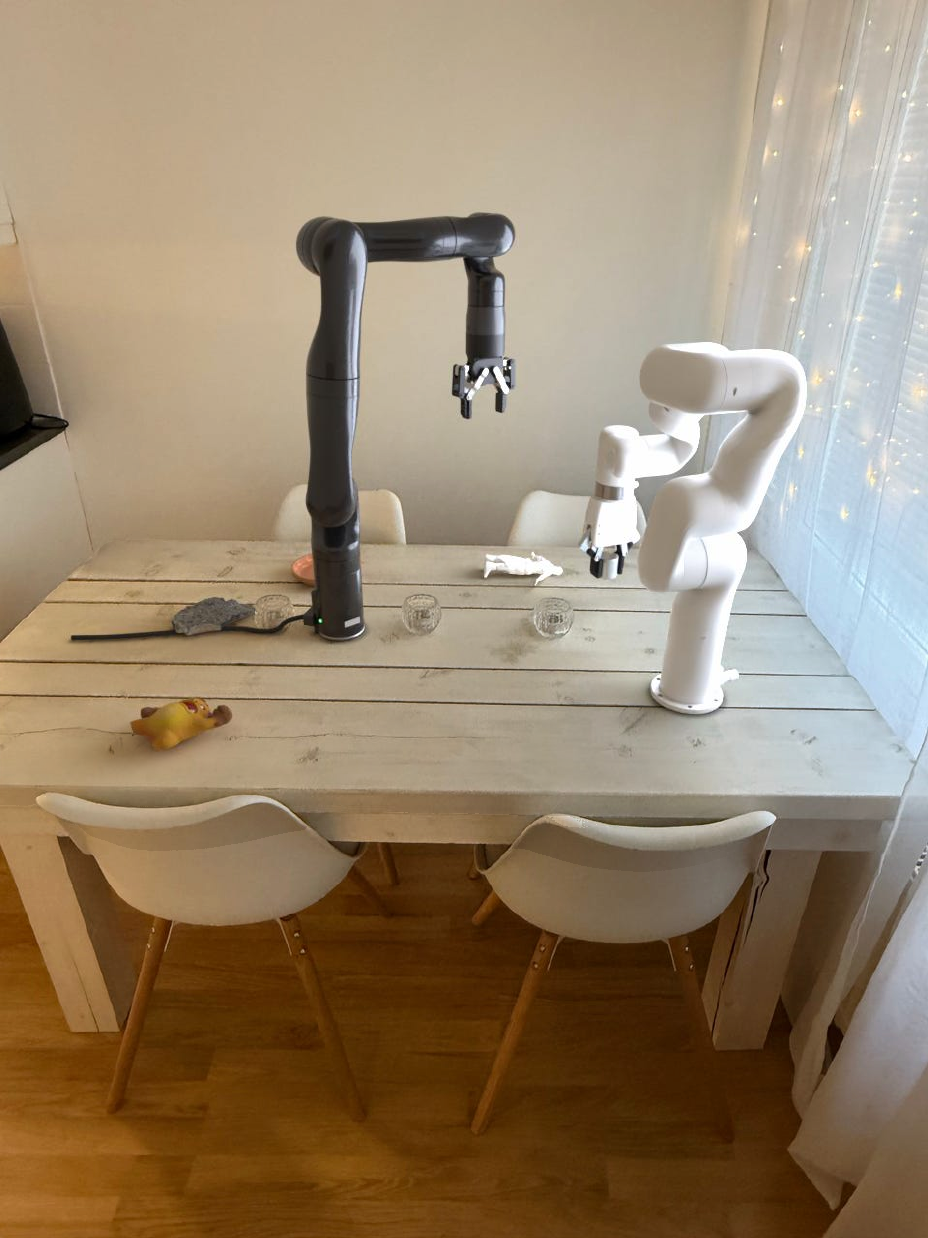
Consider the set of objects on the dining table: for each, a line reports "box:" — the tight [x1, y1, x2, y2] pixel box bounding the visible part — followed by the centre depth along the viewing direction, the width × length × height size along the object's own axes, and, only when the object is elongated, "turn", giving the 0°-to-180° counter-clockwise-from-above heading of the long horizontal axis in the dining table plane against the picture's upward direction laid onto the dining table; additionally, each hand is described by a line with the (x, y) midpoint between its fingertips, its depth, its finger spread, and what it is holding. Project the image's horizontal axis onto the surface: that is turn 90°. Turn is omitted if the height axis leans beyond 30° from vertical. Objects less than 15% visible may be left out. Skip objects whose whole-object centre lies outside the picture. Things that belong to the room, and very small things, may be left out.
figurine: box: [483, 551, 563, 586], centre depth 188 cm, size 17×5×18 cm
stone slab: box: [170, 596, 256, 637], centre depth 168 cm, size 12×17×3 cm
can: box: [599, 550, 619, 580], centre depth 169 cm, size 4×4×4 cm
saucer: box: [290, 552, 362, 588], centre depth 186 cm, size 16×16×3 cm
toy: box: [129, 697, 233, 751], centre depth 133 cm, size 11×6×15 cm
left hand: (483, 415), depth 162 cm, fingers open, 8 cm apart
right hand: (606, 573), depth 170 cm, fingers closed on can, 4 cm apart
